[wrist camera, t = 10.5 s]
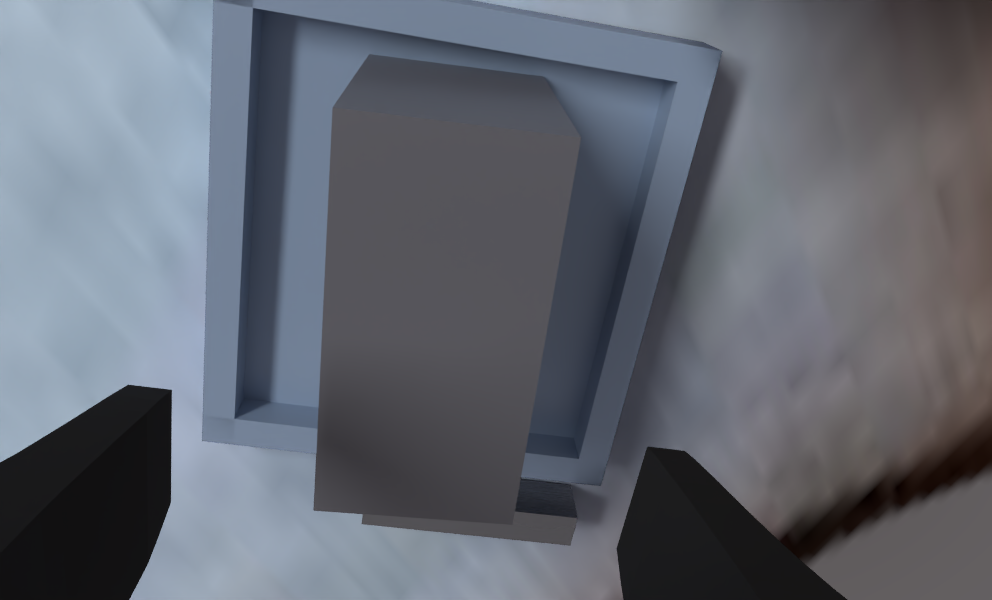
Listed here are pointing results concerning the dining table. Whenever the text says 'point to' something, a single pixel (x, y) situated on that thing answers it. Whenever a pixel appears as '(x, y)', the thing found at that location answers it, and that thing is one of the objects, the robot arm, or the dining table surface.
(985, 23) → the dining table surface
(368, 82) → the grey bar
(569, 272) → the tray
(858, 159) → the dining table surface
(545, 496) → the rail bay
